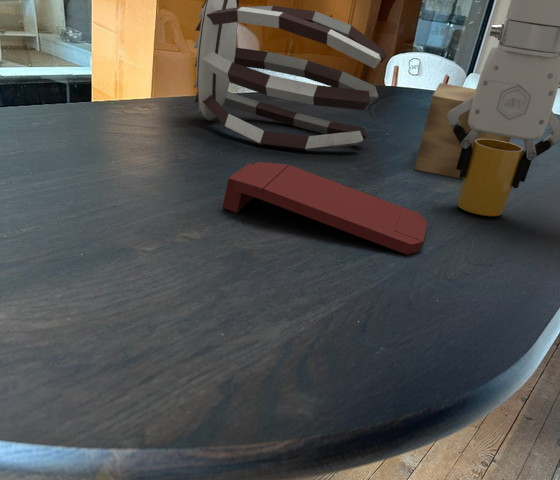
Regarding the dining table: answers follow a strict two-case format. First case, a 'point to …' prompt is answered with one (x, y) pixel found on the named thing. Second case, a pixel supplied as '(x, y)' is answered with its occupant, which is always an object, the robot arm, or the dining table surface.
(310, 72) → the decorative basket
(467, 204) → the cup
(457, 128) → the robot arm
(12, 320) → the dining table surface
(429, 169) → the wooden block
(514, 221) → the dining table surface
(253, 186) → the red hooked ramp
